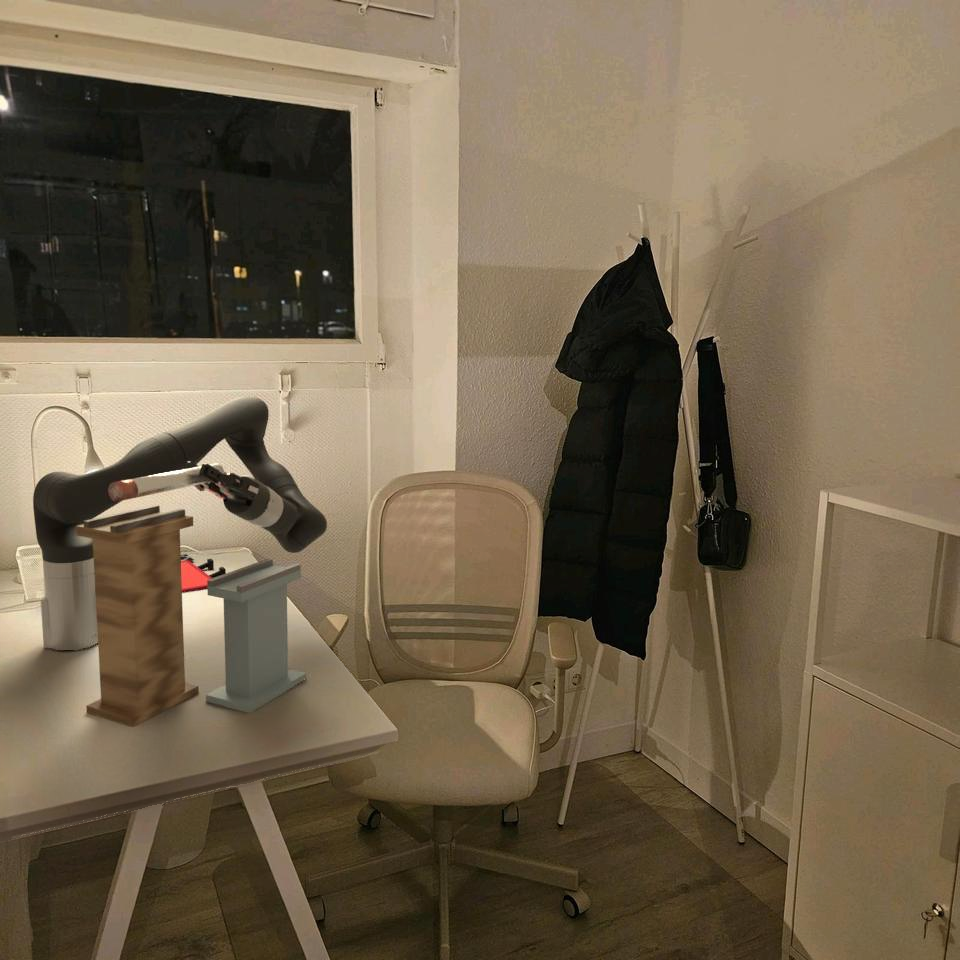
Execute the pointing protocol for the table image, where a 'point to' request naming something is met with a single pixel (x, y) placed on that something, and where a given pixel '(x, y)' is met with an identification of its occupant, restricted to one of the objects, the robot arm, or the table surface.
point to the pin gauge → (157, 483)
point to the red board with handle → (196, 574)
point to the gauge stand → (138, 612)
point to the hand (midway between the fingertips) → (194, 467)
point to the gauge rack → (255, 635)
